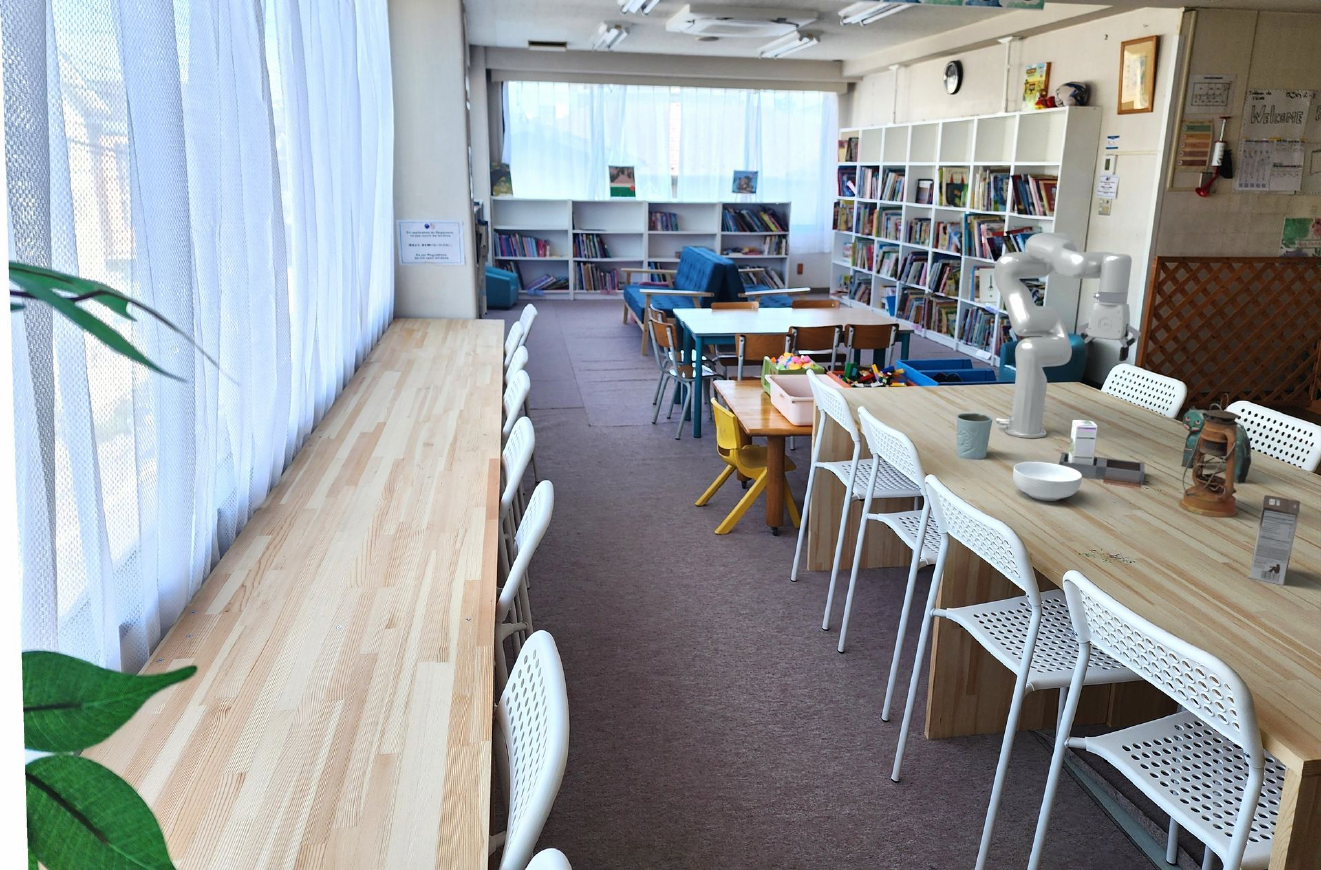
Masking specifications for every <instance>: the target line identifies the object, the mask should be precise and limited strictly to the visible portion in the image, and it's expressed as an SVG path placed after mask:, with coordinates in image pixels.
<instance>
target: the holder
mask: <svg viewBox="0 0 1321 870" xmlns="http://www.w3.org/2000/svg"><path fill="white" fill-rule="evenodd" d="M1068 456H1069V452H1061V455H1060V459H1059V463H1058V465H1062V466H1066V467H1069V468H1072V469H1075V470H1077V471H1078V472H1080V473H1081V475H1082V478H1083V479H1084V478H1087V479H1094V480H1099V479H1102V480H1101V481H1103V482H1102V484H1104V483H1107V484H1106V485H1111V484H1112V486H1113V485H1114V486H1121V487H1128V488H1135V489H1140V488H1141V486H1144V478H1145V472H1146V471H1145V462H1140V461H1131V460H1125V459H1117V458H1109V457H1100V456H1094V461H1093V465H1086V464H1078V463H1070V462H1068Z"/></svg>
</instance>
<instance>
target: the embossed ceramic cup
mask: <svg viewBox="0 0 1321 870" xmlns="http://www.w3.org/2000/svg"><path fill="white" fill-rule="evenodd" d="M992 425H993V417H992V416H991V415H989V414H988V415H987V414H985V413H978V412H964V413H959V414H957V415H956V448H955V449H956V450H955V451H956V452H955V453H956V456H957V457H960V458H962V459H966V460H983V459H986V457H987V455H988V454H987V453H988V448H989V441H990V434H991V429H992Z"/></svg>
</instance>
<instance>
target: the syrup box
mask: <svg viewBox="0 0 1321 870" xmlns="http://www.w3.org/2000/svg"><path fill="white" fill-rule="evenodd" d="M1071 425H1072V426H1071V431H1070V440H1069V450H1068V453H1069V456H1068V462H1070V463H1078V464H1086V465H1093V461H1094V457H1095V451H1096V445H1097V443H1096V442H1097V441H1096V440H1097V433H1098V425H1097V424H1096V423H1095V422H1094V421H1093V420H1086V419H1085V420H1084V419H1073V420H1072V423H1071Z"/></svg>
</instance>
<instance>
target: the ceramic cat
mask: <svg viewBox="0 0 1321 870" xmlns="http://www.w3.org/2000/svg"><path fill="white" fill-rule="evenodd" d="M1220 405H1221V404H1218V403H1212V404H1210V407H1209V410H1212V407H1213V406H1216V407H1218V408H1219V409H1220ZM1206 411H1207V410H1205V409H1197V408H1196V406H1193V405H1191V406H1190V408H1189V410H1188V411H1187V412H1186V413H1184V415H1183V417H1182V426H1183V428H1184V429H1185V430H1187V431H1188V432H1189V433H1188V436H1187V437H1186V439H1185V444H1184V448H1183V451H1182V461H1181V467H1184V468H1186V466H1187V464H1188V462H1189V460H1190V458H1191V456H1192V454H1193V451H1194V449H1195V446H1196V442H1197V440H1198V437H1199V435H1200V433H1201V431H1202V429H1203V427H1204V425H1205V420H1206V419H1208V415H1207V414H1206V413H1205V412H1206ZM1235 422H1237V428H1236V429H1237V434H1236V438H1237V439H1238V441H1237V442H1236V458H1235V464H1236V466H1235V475H1234V484H1241V483H1245V482H1246V480H1247V478H1248V474H1249V470H1250V467H1251V464H1252V456H1251V454H1252V447H1251V446H1252V444H1251V440H1250V438H1249V436H1248V432H1247V429H1246V428H1245V427H1244V425H1242V424H1241V423H1239V422H1238V421H1236V420H1235ZM1197 451H1198V446H1197V449H1196V451H1195V454H1194V457H1193V458H1192V460H1191V462H1190V464H1189V466H1188V468H1187V469H1192V468H1193V467H1194V466H1193V465H1194V464H1193V459H1194V458H1195V456H1196V455H1197ZM1194 462H1195V461H1194Z"/></svg>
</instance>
